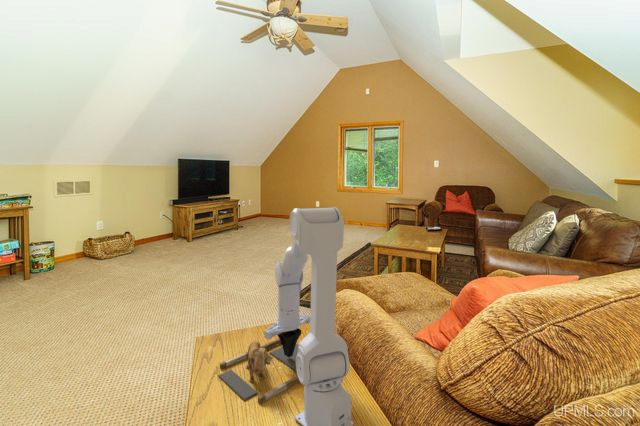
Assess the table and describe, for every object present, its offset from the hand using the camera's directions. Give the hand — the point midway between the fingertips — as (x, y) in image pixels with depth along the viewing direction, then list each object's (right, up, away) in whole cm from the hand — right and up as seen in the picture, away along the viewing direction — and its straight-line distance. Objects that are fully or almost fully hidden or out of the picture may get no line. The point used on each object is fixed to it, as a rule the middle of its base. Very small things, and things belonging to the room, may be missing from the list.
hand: (288, 354), depth 91 cm
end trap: (-11, -3, -11) cm, 16 cm away
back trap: (+2, -1, +2) cm, 3 cm away
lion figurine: (-7, -2, -6) cm, 10 cm away
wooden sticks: (-4, -2, -3) cm, 5 cm away
